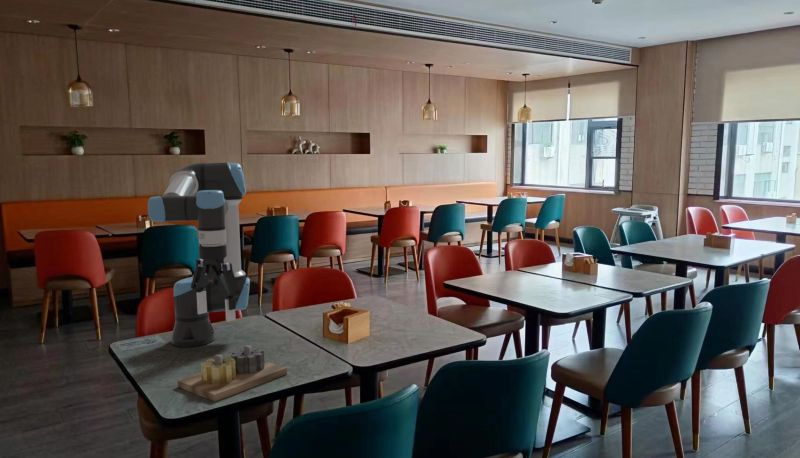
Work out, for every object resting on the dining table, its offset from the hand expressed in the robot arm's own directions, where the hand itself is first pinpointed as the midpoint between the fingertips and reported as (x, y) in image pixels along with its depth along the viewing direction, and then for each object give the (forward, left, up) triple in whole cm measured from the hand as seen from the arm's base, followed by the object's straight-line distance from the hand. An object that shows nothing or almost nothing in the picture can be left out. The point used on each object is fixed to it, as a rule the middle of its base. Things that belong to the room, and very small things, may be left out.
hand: (216, 316), depth 175 cm
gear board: (0, +5, -21) cm, 21 cm away
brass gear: (0, 0, -19) cm, 19 cm away
